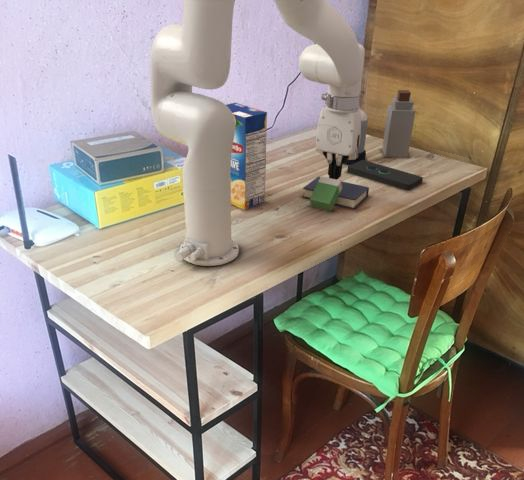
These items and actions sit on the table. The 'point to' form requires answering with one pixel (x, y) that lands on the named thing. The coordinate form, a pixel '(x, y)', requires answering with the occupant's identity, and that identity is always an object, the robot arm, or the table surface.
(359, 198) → the book
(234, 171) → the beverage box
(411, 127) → the perfume bottle
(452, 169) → the table surface
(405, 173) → the smart home device
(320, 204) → the green and white eraser
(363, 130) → the humidifier
